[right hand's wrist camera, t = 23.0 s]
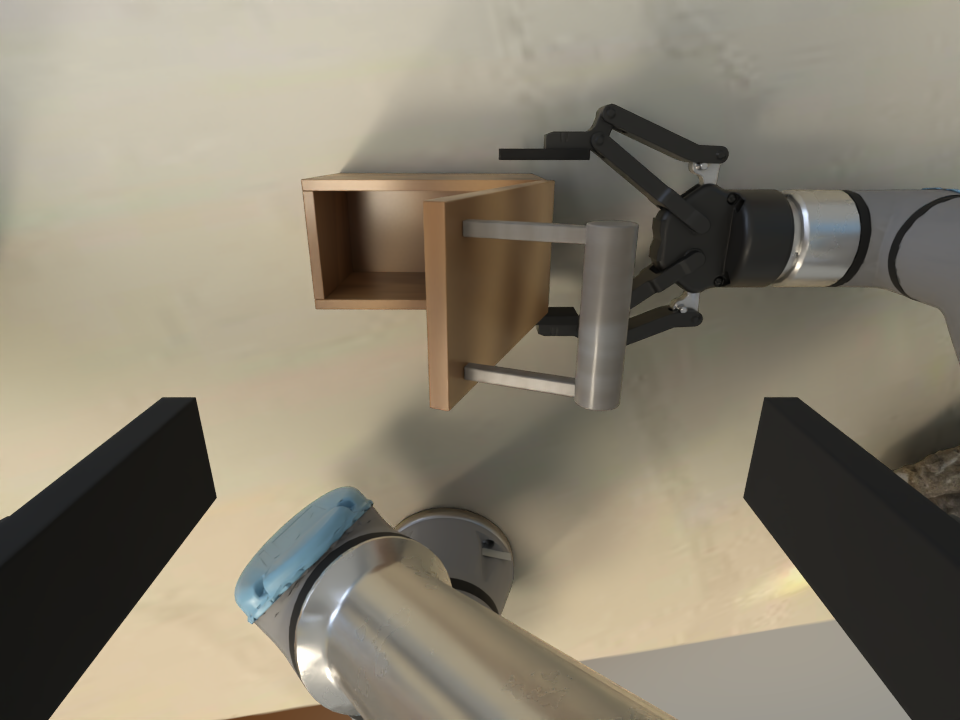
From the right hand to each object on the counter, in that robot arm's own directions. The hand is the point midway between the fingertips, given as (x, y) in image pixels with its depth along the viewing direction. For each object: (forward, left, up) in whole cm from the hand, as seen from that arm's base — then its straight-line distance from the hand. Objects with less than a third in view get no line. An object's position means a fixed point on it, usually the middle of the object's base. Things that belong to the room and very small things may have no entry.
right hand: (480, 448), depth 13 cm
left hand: (+1, -1, -32) cm, 32 cm away
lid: (+1, -1, -20) cm, 20 cm away
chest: (-2, +3, -39) cm, 39 cm away
